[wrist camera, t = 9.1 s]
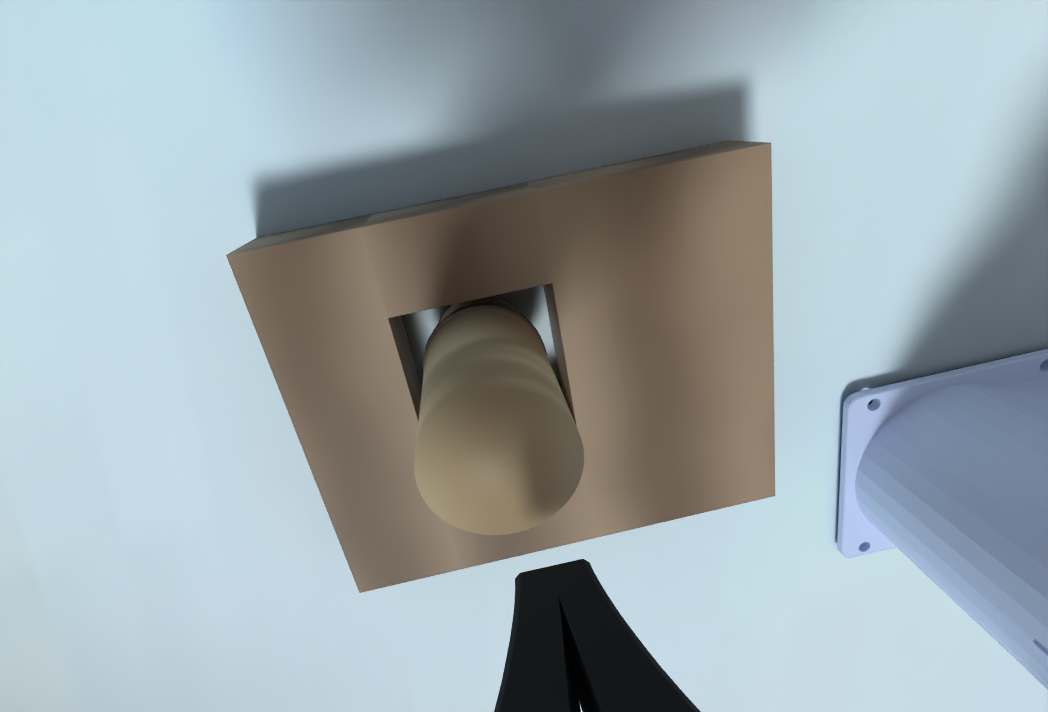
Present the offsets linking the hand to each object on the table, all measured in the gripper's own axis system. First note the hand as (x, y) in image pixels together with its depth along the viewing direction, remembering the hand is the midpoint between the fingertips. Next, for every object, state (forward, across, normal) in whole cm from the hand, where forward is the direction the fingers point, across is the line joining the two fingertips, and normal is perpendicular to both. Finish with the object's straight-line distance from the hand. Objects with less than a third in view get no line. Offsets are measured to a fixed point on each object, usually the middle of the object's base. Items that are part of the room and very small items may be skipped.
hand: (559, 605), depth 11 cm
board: (+10, -1, -1) cm, 10 cm away
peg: (+10, +1, -2) cm, 10 cm away
